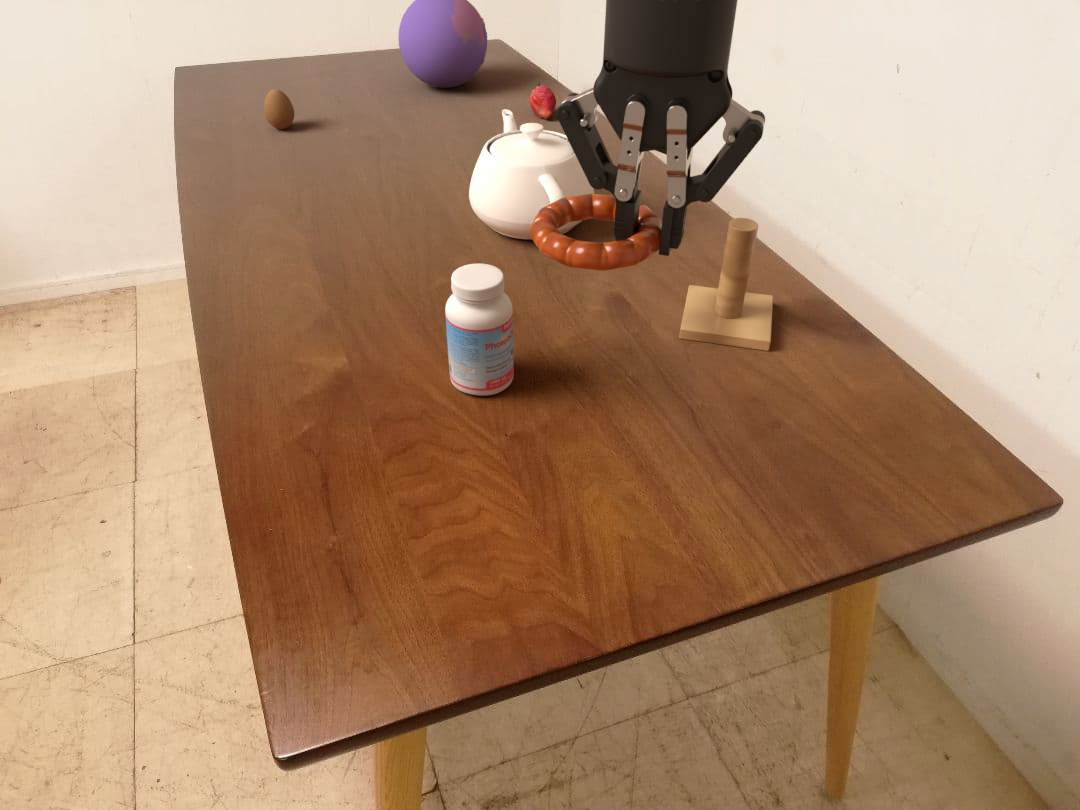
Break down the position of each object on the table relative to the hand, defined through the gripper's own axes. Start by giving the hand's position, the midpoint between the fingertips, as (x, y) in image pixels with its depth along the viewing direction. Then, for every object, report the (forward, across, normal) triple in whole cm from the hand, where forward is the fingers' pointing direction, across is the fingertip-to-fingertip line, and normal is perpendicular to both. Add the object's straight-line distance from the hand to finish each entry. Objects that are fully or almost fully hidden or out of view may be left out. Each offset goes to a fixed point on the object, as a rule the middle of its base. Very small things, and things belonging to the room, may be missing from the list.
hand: (647, 246), depth 57 cm
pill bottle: (+20, +15, -7) cm, 26 cm away
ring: (-1, +4, 0) cm, 4 cm away
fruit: (+20, +29, -76) cm, 84 cm away
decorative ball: (+20, +49, -86) cm, 101 cm away
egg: (+20, +66, -59) cm, 91 cm away
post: (+20, -6, -24) cm, 32 cm away
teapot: (+20, +20, -41) cm, 50 cm away
